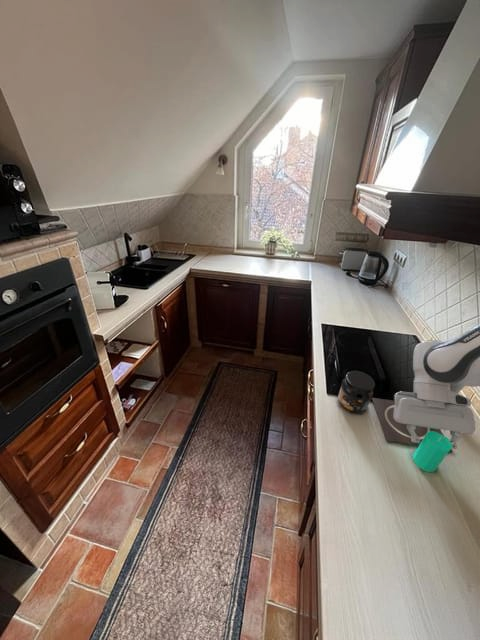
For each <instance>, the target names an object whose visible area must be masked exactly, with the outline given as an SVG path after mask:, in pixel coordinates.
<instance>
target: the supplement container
mask: <svg viewBox="0 0 480 640" xmlns="http://www.w3.org/2000/svg"><path fill="white" fill-rule="evenodd" d="M375 386H376V383H375V380H374V379H373V378H372V376H370V375H369V374H367V373H365V372H363V371H360V370H351V371H348V372H347V373H346V374H345V376H344V378H343V379H342V381H341V384H340V389H339V391H338V394H337V402H338V404H339V406H340V407H341V408H342V409H343V410H345V411H346V412H348V413H351V414H354V415H361V414H364V413H366V412H367V410H368V408H369V406H370V402H371V401H372V398H373V396H374V394H375V390H374V389H375Z"/></svg>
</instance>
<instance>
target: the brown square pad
mask: <svg viewBox="0 0 480 640" xmlns="http://www.w3.org/2000/svg"><path fill="white" fill-rule="evenodd" d="M371 402H372V405H373V407H374V410H375V412H376V415H377V416H376V417H377V419H378V421H379V424H380V427H381V430H382V433H383V435H384V439H385V441H386V442H387V443H393V444H400V445H405V446H412V447H417V448H418V446H419V445H420V443H421V442H422V440H423V439H424V437H425V435H426V434H427V433H428V432H429V431H435V432H437V433H440V434H441V435H443V436H445V435H444V433H443V432H442V430H441V429H435V428H428V427H422V426H416V429H415V430H414V429H413V430H414V432H415V433H416V435H417V436H419V437H420V443H415V442H412V441H411V434H410V433H409V431H408V429H407V424H402V423H398V422H396V421H395V420H394V418H393V414H394V406H395V402H394V400H391V399H384V398H378V397H372V398H371ZM452 452H453V449H452V448H451V449H450V451H449V452H448V453H452Z"/></svg>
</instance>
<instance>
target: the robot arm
mask: <svg viewBox="0 0 480 640" xmlns="http://www.w3.org/2000/svg"><path fill="white" fill-rule="evenodd" d="M412 371H413V373H414V378H413V382H412V383H413V384H412V385H413V386H412V387H413V388H412V389H413V391H412V392H410V391H403V390H400V391H398V392H396V393H394V395H393V401H394V402H395V406H394V414H393V418H394V420H395V421H396V422H398V423H402V424H407V429H408V431H409V433H410V434H411V441H412V442H415V443H420V437H419V436H417V435H416V433H415V432H414V430H415V429H416V426H422V427H428V428H435V429H440V430H441V431H449V435H450V436H451V437H450V439H449V441H450V442H451V445H452V448H451V449H452V450H457V449H458V448H457V447H458V446H457V443H458V442H459V440H460V438H461V436H462V435H461V434H468V435H473V434H475V431H476V420H475V415H474V412H473V410H472V409H471V408H470V406H472V400H471V399H470V398H469V397H466V396H464V395H462V394H460V393H458V394H457V393H455V392H453V391H450V384H451V383H453V384H458V385H463V386H465V387H470V388H475V387H476V388H477V387H480V323H478V324H477V325H475V326H473V327H472V328H470V329H469V330H467V331H465V332H463V333H462V334H460V335H458V336H456V337H455V338H452V339H450V340H447V341H442V340H439V339H438V340H437V339H435V340H424V341H421V342H418V343H417V344H416V345H415V347H414V349H413V355H412ZM413 429H414V430H413Z"/></svg>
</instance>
